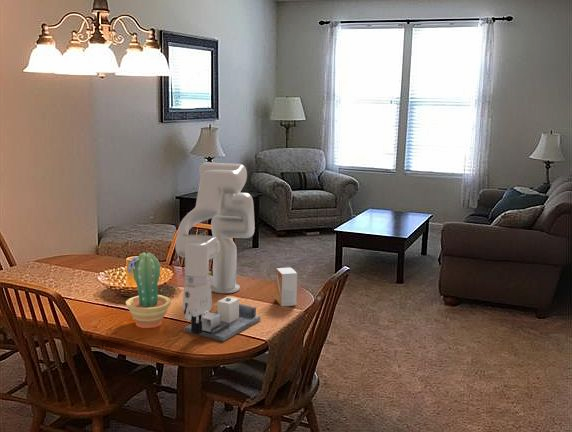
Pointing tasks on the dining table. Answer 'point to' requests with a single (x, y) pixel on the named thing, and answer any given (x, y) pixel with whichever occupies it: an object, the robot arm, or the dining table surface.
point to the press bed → (232, 324)
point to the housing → (228, 309)
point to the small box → (286, 286)
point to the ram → (210, 321)
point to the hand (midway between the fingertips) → (196, 332)
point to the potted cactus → (147, 292)
